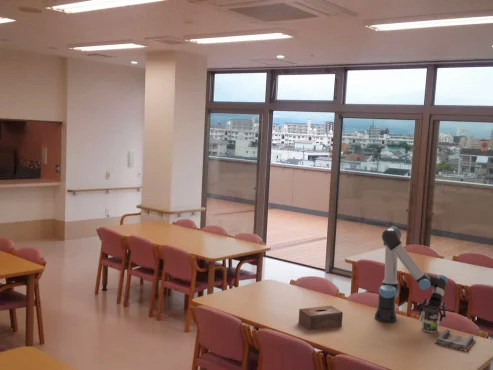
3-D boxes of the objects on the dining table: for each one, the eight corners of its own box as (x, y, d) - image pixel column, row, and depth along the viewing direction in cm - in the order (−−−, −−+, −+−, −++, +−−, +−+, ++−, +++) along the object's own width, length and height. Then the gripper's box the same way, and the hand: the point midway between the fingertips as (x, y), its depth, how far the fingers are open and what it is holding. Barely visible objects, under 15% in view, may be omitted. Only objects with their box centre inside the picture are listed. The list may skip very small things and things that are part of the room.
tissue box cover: (309, 330, 358) (310, 315, 357) (298, 323, 371) (299, 309, 370) (341, 326, 369) (342, 312, 368) (330, 319, 382) (330, 305, 381)
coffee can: (440, 331, 366) (442, 311, 364) (427, 332, 363) (428, 312, 361) (431, 326, 375) (433, 306, 374) (418, 327, 373) (420, 307, 371)
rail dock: (434, 343, 345) (434, 338, 344) (444, 333, 363) (444, 328, 362) (467, 351, 333) (467, 346, 333) (475, 341, 351) (475, 336, 351)
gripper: (455, 301, 373) (447, 329, 362) (421, 294, 387) (412, 321, 375) (453, 296, 368) (445, 324, 357) (419, 289, 382) (410, 315, 371)
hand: (428, 322), depth 366 cm, fingers open, 11 cm apart
